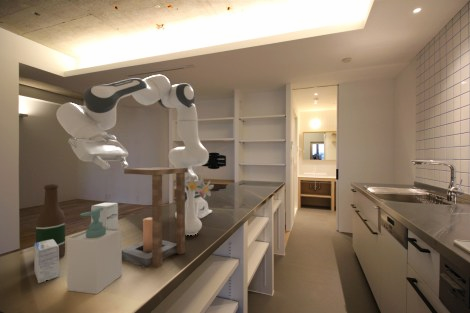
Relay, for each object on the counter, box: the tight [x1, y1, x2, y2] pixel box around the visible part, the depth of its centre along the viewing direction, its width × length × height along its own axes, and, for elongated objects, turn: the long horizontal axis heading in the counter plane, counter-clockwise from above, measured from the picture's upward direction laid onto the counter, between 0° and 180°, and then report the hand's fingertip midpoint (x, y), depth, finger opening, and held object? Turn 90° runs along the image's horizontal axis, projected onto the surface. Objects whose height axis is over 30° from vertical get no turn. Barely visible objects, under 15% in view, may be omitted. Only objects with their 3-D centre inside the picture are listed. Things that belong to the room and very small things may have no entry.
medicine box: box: [33, 239, 60, 284], centre depth 60 cm, size 8×4×9 cm, turn 48°
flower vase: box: [172, 175, 215, 237], centre depth 93 cm, size 13×18×25 cm
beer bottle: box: [35, 183, 66, 259], centre depth 71 cm, size 8×8×24 cm
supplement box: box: [90, 202, 119, 229], centre depth 94 cm, size 7×7×13 cm
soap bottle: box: [66, 208, 123, 295], centre depth 56 cm, size 9×9×19 cm
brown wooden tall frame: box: [122, 166, 188, 269], centre depth 72 cm, size 14×16×29 cm
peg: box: [142, 217, 152, 253], centre depth 72 cm, size 4×4×12 cm
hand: (117, 167), depth 75 cm, fingers open, 8 cm apart
